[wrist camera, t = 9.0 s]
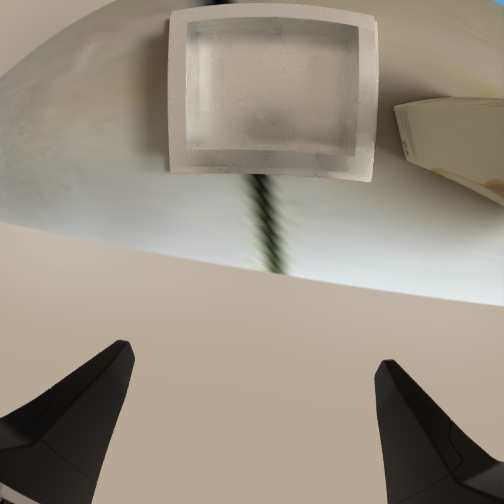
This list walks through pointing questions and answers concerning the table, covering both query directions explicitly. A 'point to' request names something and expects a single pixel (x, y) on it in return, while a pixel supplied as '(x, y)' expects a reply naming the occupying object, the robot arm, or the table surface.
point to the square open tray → (273, 90)
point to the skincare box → (457, 140)
